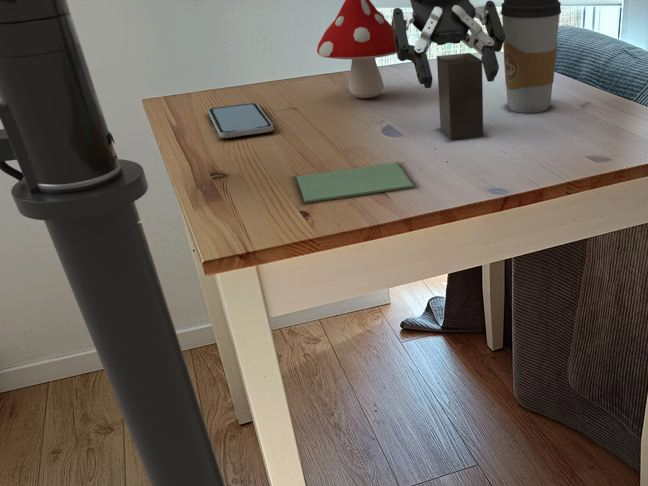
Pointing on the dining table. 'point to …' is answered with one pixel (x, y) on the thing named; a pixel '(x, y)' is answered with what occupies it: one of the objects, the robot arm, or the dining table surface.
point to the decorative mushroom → (359, 44)
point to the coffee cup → (530, 52)
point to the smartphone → (239, 120)
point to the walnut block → (460, 95)
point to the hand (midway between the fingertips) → (461, 81)
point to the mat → (352, 182)
